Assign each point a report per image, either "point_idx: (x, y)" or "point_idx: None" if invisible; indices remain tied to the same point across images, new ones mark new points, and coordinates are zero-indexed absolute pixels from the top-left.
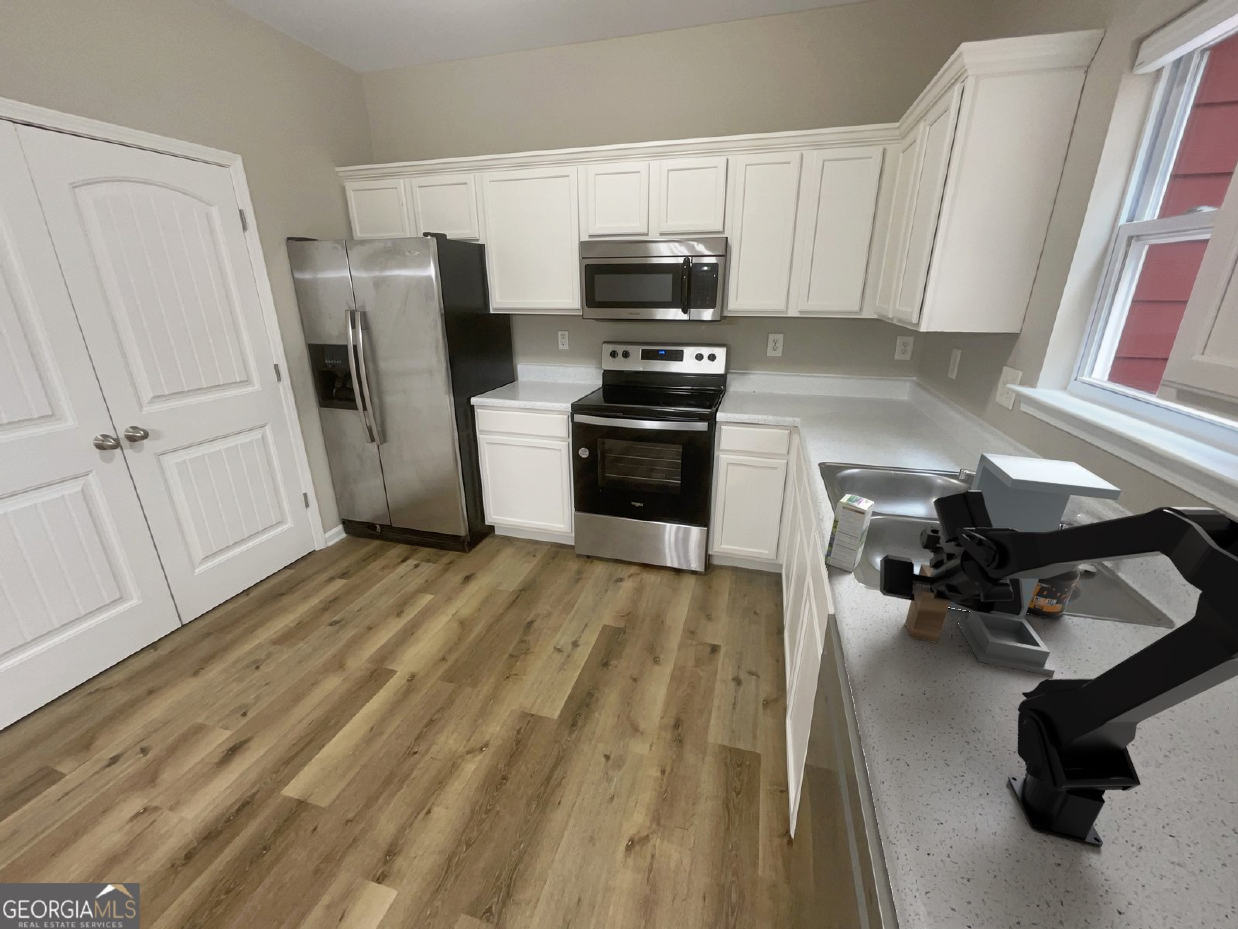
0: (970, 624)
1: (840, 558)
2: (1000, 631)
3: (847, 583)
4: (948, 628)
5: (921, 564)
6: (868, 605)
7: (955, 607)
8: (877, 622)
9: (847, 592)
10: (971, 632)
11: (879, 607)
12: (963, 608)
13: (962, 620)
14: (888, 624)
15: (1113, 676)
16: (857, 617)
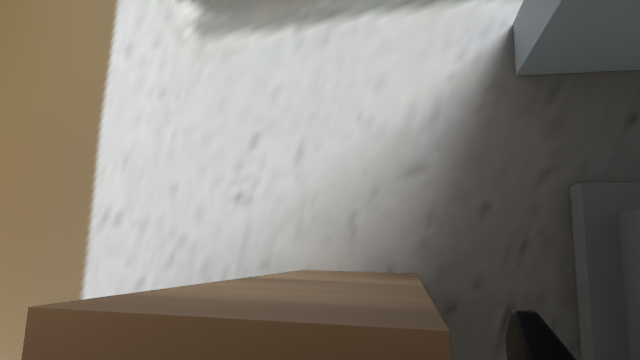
0: (630, 256)
1: None
2: None
3: (130, 26)
4: (508, 252)
5: (27, 324)
6: (176, 173)
7: (592, 66)
8: None
9: (113, 99)
10: (618, 307)
11: (220, 173)
12: (636, 62)
13: (596, 202)
14: None
15: None
16: (108, 285)
